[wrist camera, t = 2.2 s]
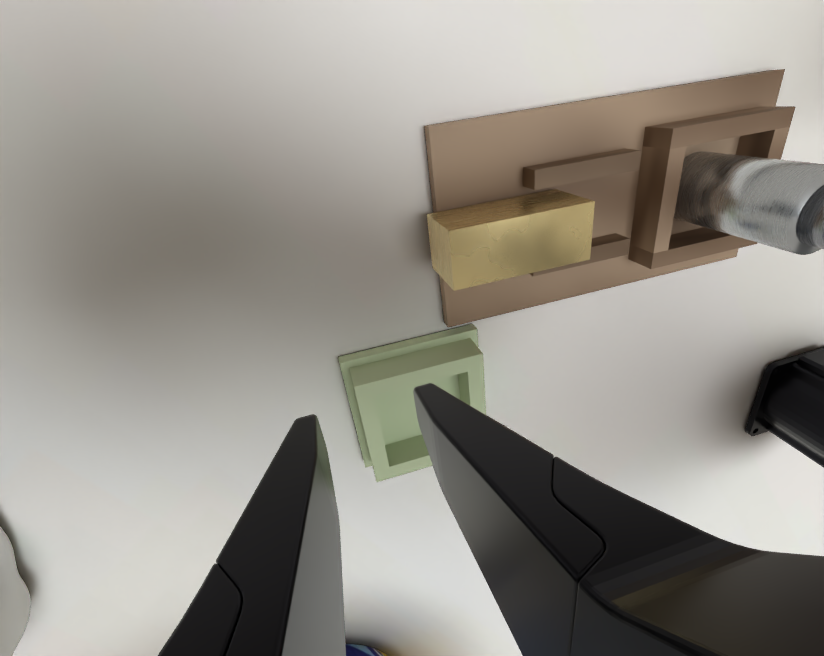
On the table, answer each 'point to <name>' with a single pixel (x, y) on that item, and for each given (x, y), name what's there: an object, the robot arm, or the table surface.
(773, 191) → the chrome stepped cylinder
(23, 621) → the rabbit
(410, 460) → the tray
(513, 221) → the yellow rectangular block
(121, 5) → the table surface
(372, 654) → the table lamp
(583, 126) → the socket block
